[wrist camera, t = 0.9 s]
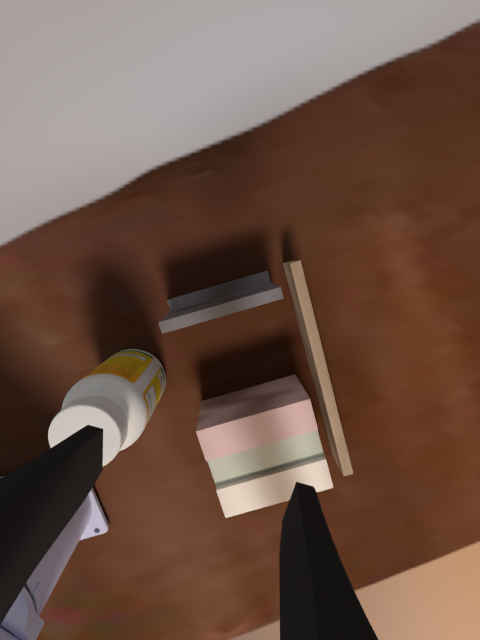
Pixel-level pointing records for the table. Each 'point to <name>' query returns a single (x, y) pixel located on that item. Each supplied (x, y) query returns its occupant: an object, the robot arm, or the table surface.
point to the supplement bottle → (113, 401)
